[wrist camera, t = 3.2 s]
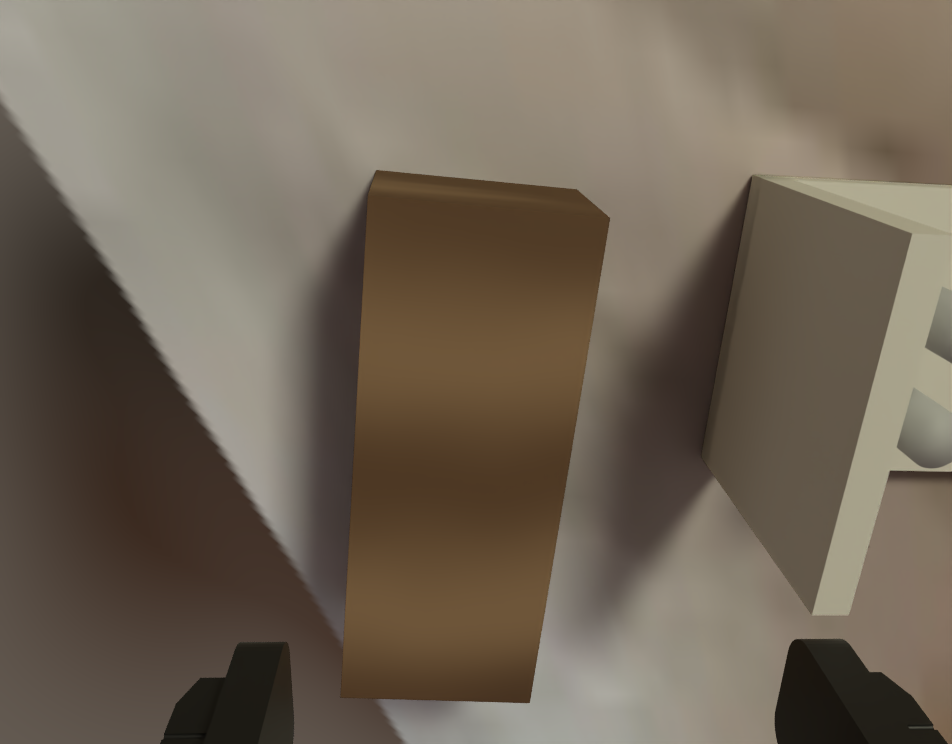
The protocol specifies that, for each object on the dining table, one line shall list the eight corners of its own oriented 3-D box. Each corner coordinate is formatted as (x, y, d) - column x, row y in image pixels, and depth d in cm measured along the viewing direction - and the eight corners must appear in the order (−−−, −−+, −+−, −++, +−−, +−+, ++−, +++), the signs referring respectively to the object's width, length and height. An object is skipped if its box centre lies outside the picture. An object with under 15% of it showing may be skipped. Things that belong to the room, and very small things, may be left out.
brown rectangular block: (512, 606, 25) (529, 703, 21) (352, 599, 24) (340, 697, 21) (574, 187, 20) (610, 217, 17) (376, 168, 20) (367, 195, 16)
